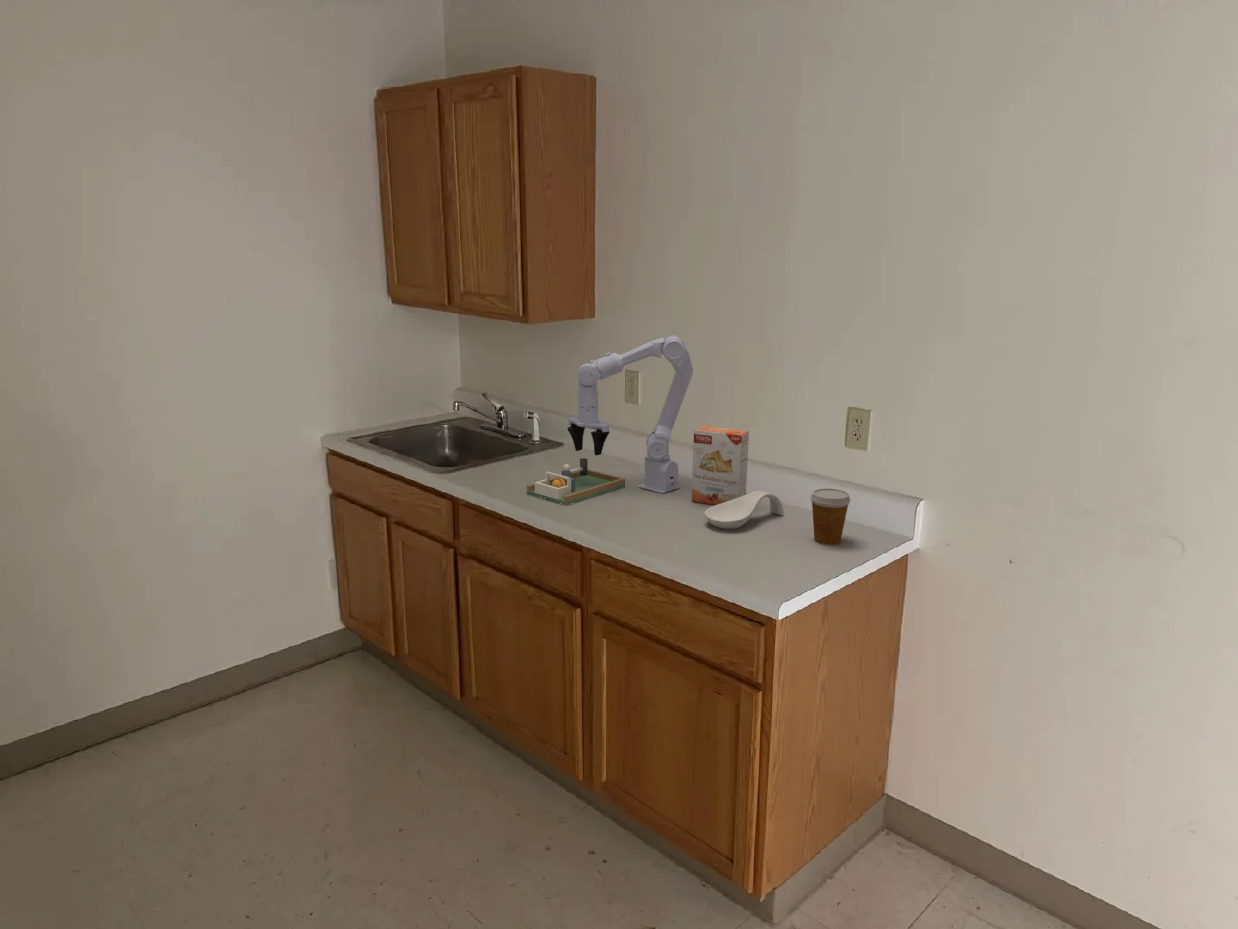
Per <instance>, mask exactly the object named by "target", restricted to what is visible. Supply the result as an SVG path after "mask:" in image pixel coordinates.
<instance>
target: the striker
mask: <svg viewBox="0 0 1238 929" xmlns="http://www.w3.org/2000/svg"><path fill="white" fill-rule="evenodd" d="M588 462H589V460H588V458H586V457H585V458H584V457H583V458H579V467H575V468H573V469H571V466H570V465H569V464H568V463H566V464H563V466H562V469H563V470H561V475H562V476H566V477H570V478H571V491H573V490H575V479H574V478H572V474H573V473H577V472H580V475H582V476H586V475H588V466H589V465H588ZM558 478H559V477H558ZM560 479H562V478H560ZM563 480H564V481H565V483H566V486H567V480H566V479H563Z"/></svg>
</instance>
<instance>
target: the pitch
mask: <svg viewBox="0 0 1238 929" xmlns="http://www.w3.org/2000/svg"><path fill="white" fill-rule="evenodd" d="M544 473H545V474H544V475H545V479H542V480H539V481H535V482H534V483H530V484H527V485H526V494H527V495H529V494H530V496H533V497H537V498H540V497H542V498H541V499H543V498H545V499H544V500H546V499H548V500H547V501H550V500H551V501H550V502H553V503H556V502H557V504H560V503H562V504H561V505H563V504H565V505H564V506H566V505H567V506H570V505H572V504H571V503H574V504H575V503H580V502H583V501H586V500H589V499H591V497H592V498H595V497H598V496H601V495H604V494H608V493H611V492H613V491H617V490H620V489H623V488H626V478H624V477H620V476H616V475H612V474H609V473H606V472H605V473H604V472H601V471H596V470H592V469H588V475H586V476H582V475H580V472H577V473H573V474H572V478H574V479H575V490H573V491H571V478H570V477H566V476H562V474H558V473H554V472H550V471H545V472H544ZM550 476H552V478H550ZM558 477H559V478H562V479H566V480H567V486H563V487H560V488H556V487H553V486H552V483H553V481H554V480H555V479H558ZM610 491H611V492H610ZM607 492H608V493H607ZM588 498H589V499H588ZM585 499H586V500H585ZM569 504H570V505H569Z"/></svg>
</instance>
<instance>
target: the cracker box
mask: <svg viewBox="0 0 1238 929" xmlns="http://www.w3.org/2000/svg"><path fill="white" fill-rule="evenodd" d="M749 435H750V433H749V431H748V430H740V429H734V428H726V427H725V428H724V427H718V426H710V425H709V426H708V425H700V426H698V427H697V428H695V429H693V446H692V471H691V472H692V475H691V476H692V477H691V502H694V503H701V504H706V505H712V506H715V505H718V504H721V503H724V502H728V501H731V500H733V499H736V498H739V497H741V496H744V495H746V494H747V480H748V479H747V478H748V455H749V438H750V437H749Z"/></svg>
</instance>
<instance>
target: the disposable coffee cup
mask: <svg viewBox="0 0 1238 929" xmlns="http://www.w3.org/2000/svg"><path fill="white" fill-rule="evenodd" d="M809 497H810V501H811V505H812V506H811V507H812V522H813V538H814V539H813V540H814V541H815V542H816V543H818V544H822V545H829V546H830V545H839V543H841V541H842V536H843V531H844V527H845V523H846V522H845V521H846V517H847V514H848V513H847V512H848V508H849V505H850V503H851V501H852V500H851V498H850V494H849V492H847V491H845V490H842V489H838V488H830V487H829V488H828V487H825V488H816V489H814V490H813V491H812V492H811V495H810V496H809Z"/></svg>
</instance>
